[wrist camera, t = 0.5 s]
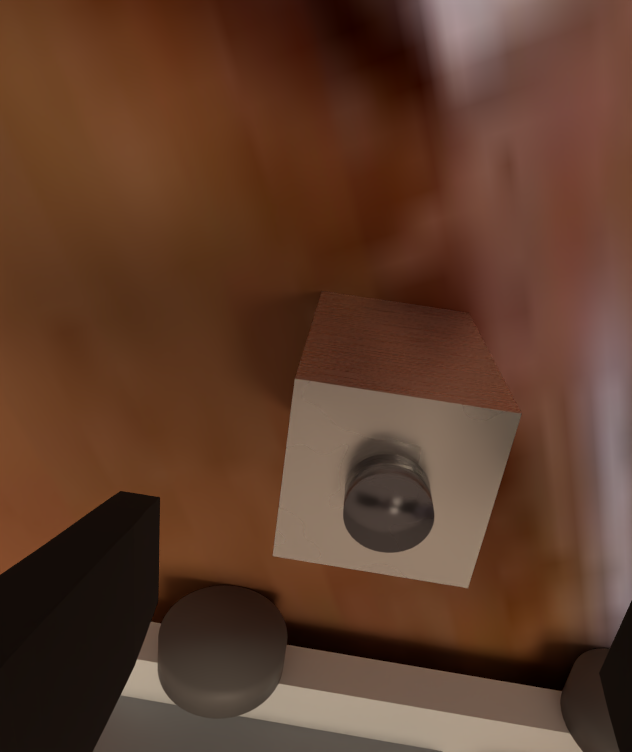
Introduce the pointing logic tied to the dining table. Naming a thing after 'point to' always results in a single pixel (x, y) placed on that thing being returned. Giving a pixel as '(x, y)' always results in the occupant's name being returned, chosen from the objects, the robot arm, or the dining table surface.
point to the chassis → (329, 694)
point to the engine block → (393, 441)
